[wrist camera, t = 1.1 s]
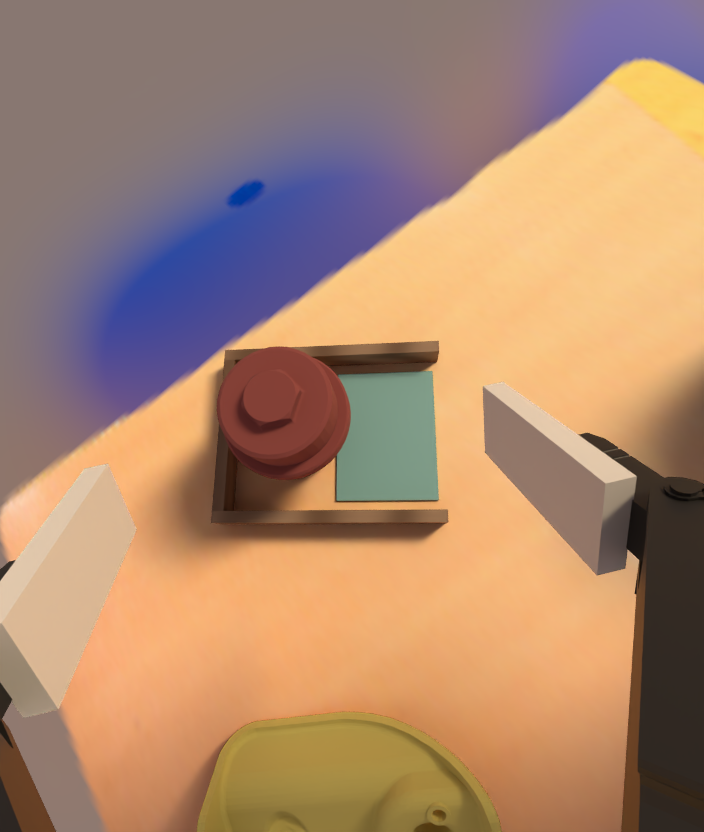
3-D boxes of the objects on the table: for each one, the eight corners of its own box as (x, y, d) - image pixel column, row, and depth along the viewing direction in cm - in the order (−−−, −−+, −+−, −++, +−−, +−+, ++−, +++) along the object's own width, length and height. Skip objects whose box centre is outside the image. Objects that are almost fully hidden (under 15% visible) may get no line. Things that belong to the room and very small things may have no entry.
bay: (436, 352, 44) (438, 341, 41) (445, 523, 40) (448, 522, 37) (234, 360, 46) (225, 350, 44) (222, 524, 42) (211, 522, 39)
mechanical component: (233, 435, 44) (310, 366, 45) (300, 513, 41) (381, 437, 42) (170, 395, 32) (277, 302, 33) (259, 500, 29) (372, 396, 30)
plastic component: (227, 937, 32) (188, 819, 30) (259, 824, 39) (229, 724, 37) (520, 925, 29) (495, 794, 27) (496, 806, 36) (474, 697, 35)
